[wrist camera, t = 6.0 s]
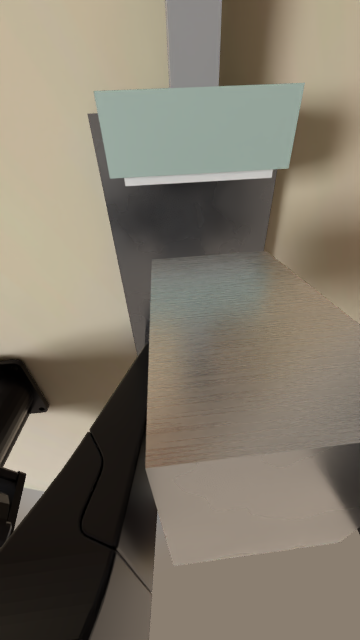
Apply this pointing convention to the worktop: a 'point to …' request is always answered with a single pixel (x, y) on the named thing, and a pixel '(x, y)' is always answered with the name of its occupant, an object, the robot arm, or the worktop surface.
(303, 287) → the steel block
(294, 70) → the worktop surface
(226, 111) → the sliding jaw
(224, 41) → the worktop surface
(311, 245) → the worktop surface
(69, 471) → the robot arm
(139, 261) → the base
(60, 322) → the worktop surface
